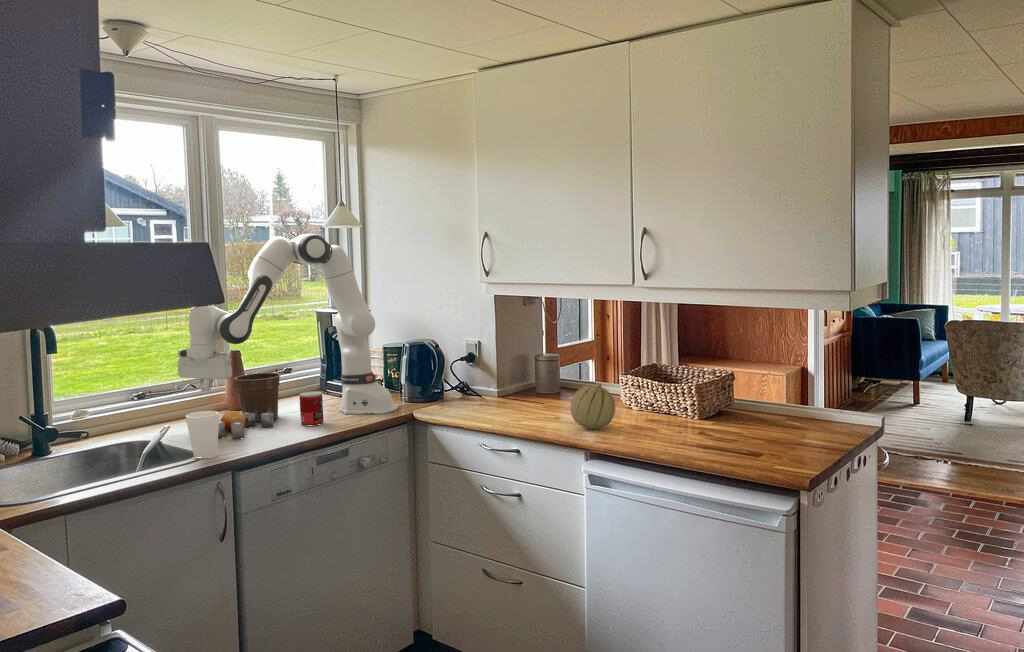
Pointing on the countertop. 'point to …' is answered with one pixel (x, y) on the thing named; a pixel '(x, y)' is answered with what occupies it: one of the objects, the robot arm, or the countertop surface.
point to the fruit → (232, 419)
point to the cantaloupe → (592, 407)
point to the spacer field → (238, 427)
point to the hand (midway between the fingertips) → (206, 391)
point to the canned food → (311, 408)
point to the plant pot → (259, 393)
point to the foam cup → (203, 432)
